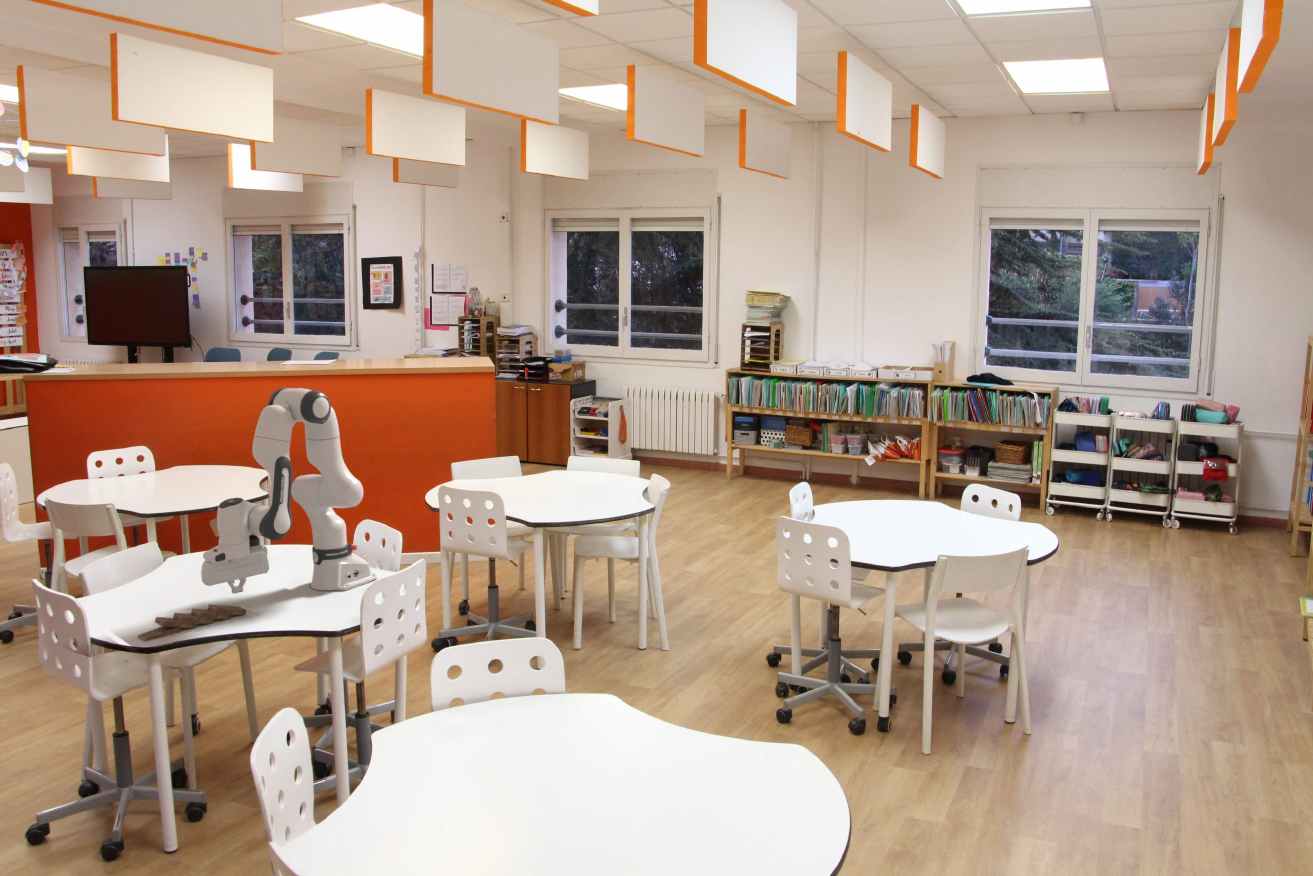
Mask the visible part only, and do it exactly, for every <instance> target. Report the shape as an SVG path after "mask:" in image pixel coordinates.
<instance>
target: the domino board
mask: <svg viewBox="0 0 1313 876" xmlns="http://www.w3.org/2000/svg"><path fill="white" fill-rule="evenodd" d="M243 608H244V609H246V614H245V615H237V614H231V616H230V619H215V618H214V619H213V623H212V624H209V623H196V626H195V628H185V627H179V631H180V632H178V633H179V634H181V635H184V634H188V633H191V632H195V631H198V630H203V629H208V628H211V627H214V626H218V625H222V624H223V625H224V624H225V623H230V622H233V621H237V620H242V619H246V618H249V617H253V616H256V615H260V613H259V612H257V611H255V610H253V608H252V609H251V608H249V607H248V606H245V607H243Z"/></svg>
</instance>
